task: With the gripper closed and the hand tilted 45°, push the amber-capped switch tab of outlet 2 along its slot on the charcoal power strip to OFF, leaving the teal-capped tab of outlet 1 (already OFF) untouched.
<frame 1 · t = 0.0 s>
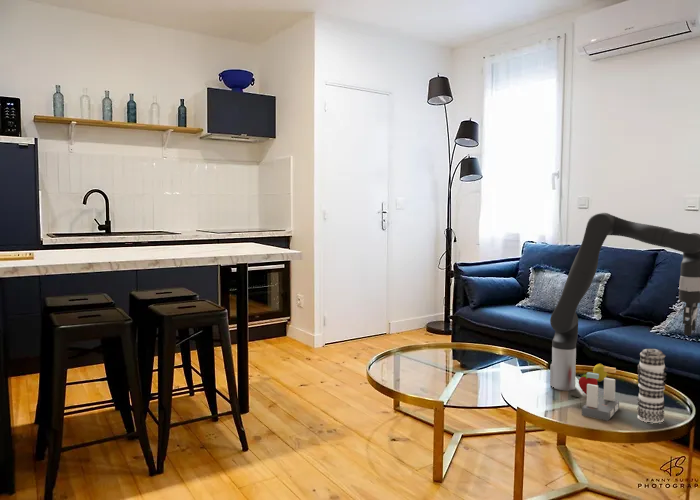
hand: (689, 332, 206), 29 cm above the table, tool pointing down, fingers open, 8 cm apart
strawberry: (587, 395, 227), on the table
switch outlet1: (592, 390, 205), point 9 cm above the table, slide at 4.6 cm
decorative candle: (650, 419, 202), on the table
lemon: (599, 382, 243), on the table
power strip: (600, 411, 209), on the table
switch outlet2: (609, 383, 212), point 9 cm above the table, slide at 0.0 cm
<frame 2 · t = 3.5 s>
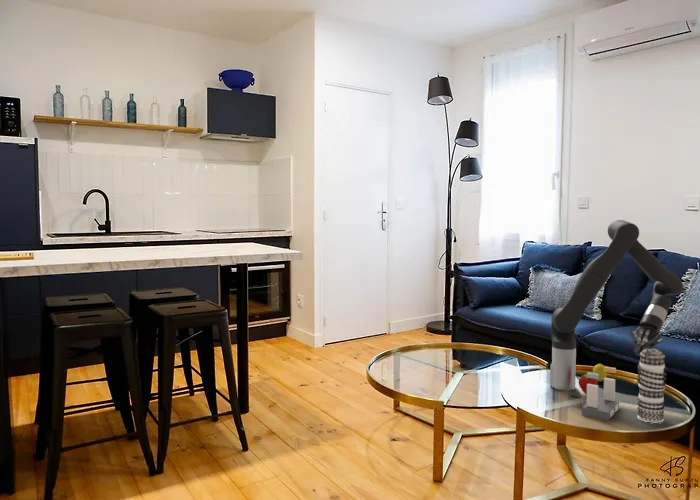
hand: (637, 354, 221), 18 cm above the table, tool tilted 45°, fingers closed
nothing on the table moved.
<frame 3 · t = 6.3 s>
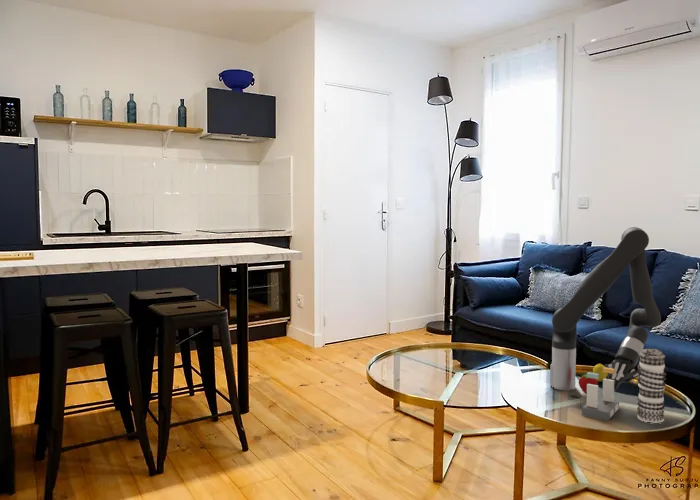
hand: (612, 389, 211), 7 cm above the table, tool tilted 45°, fingers closed
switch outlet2: (608, 384, 211), point 9 cm above the table, slide at 1.2 cm
everything else where it was.
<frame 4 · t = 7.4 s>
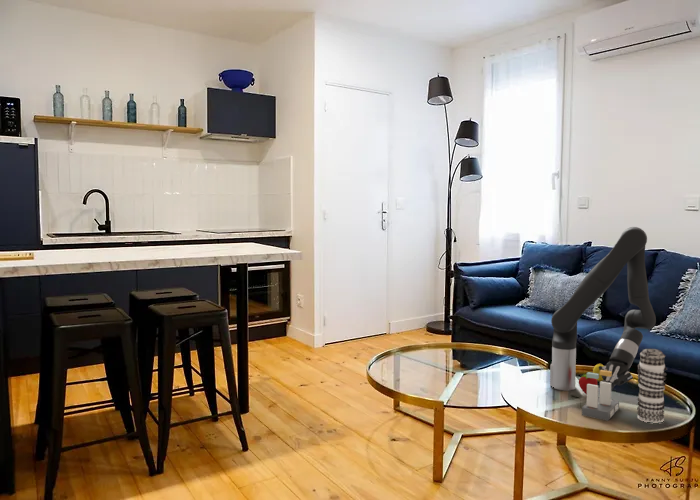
hand: (606, 392, 209), 7 cm above the table, tool tilted 45°, fingers closed
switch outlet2: (605, 387, 208), point 9 cm above the table, slide at 5.2 cm, touching gripper
everything else where it was.
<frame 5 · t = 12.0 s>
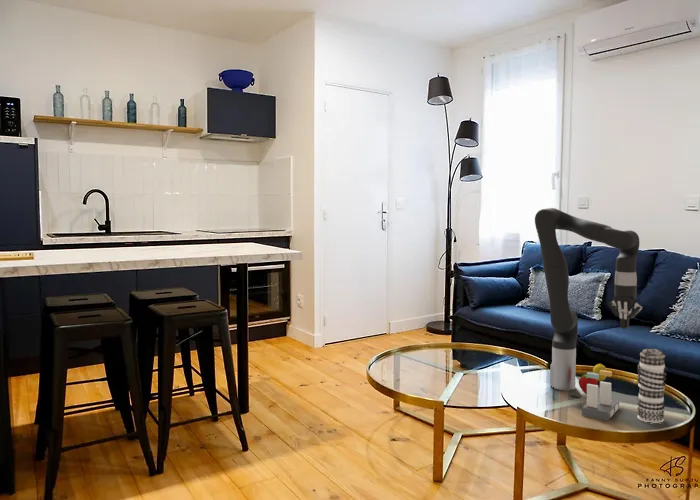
hand: (624, 328, 216), 29 cm above the table, tool pointing down, fingers closed
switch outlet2: (605, 387, 208), point 9 cm above the table, slide at 5.2 cm
everything else where it was.
at the end: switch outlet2 slide at 5.2 cm; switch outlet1 slide at 4.6 cm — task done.
